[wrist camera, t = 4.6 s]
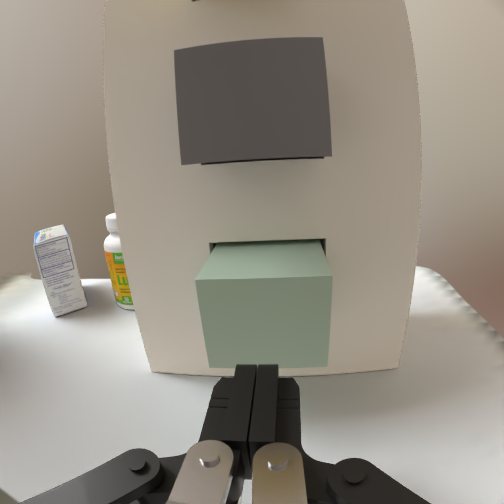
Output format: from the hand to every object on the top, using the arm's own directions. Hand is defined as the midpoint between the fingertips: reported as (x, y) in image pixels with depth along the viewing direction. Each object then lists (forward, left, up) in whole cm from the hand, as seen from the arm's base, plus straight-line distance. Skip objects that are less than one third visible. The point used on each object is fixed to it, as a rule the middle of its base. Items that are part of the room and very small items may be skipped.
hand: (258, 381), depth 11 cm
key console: (0, +12, -7) cm, 14 cm away
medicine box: (-25, +19, -7) cm, 32 cm away
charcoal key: (0, +7, +8) cm, 10 cm away
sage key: (0, +7, -2) cm, 7 cm away
